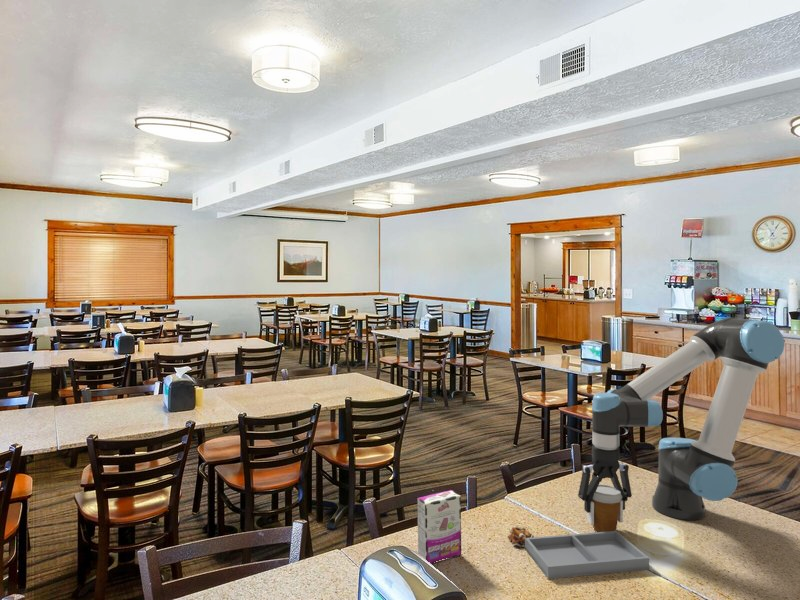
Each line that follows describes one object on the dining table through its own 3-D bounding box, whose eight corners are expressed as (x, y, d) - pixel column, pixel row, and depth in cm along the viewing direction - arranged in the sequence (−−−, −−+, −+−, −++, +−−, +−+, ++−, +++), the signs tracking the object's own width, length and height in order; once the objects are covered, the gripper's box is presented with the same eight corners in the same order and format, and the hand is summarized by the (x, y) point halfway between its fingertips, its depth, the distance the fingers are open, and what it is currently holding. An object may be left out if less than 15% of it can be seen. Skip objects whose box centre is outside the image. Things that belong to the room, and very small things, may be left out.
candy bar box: (451, 547, 142) (451, 489, 142) (461, 555, 138) (462, 495, 137) (416, 557, 137) (416, 496, 136) (426, 566, 132) (426, 504, 132)
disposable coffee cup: (625, 539, 146) (625, 497, 146) (590, 536, 148) (590, 495, 148) (618, 523, 156) (618, 485, 155) (585, 521, 158) (585, 482, 157)
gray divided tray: (616, 541, 145) (616, 530, 145) (648, 569, 131) (649, 557, 131) (524, 548, 141) (524, 538, 141) (548, 578, 127) (548, 566, 127)
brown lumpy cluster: (523, 528, 154) (523, 517, 153) (538, 549, 142) (539, 536, 142) (501, 530, 153) (501, 518, 153) (515, 550, 141) (515, 538, 141)
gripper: (630, 440, 157) (629, 513, 157) (565, 443, 153) (565, 518, 154) (646, 448, 149) (645, 524, 150) (578, 451, 146) (577, 530, 147)
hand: (604, 521), depth 152 cm, fingers closed on disposable coffee cup, 8 cm apart
